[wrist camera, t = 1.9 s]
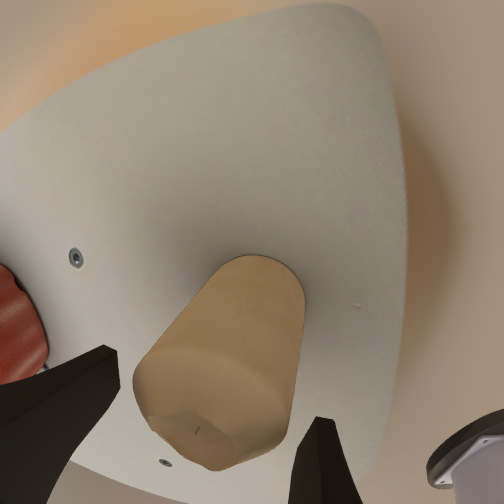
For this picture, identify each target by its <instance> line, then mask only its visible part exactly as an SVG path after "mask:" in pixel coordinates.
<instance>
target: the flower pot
mask: <svg viewBox="0 0 504 504" xmlns="http://www.w3.org/2000/svg"><path fill="white" fill-rule="evenodd" d="M47 356H48V347H47V342H46V338H45V334H44V331H43V328H42V325H41V322H40V320H39V318H38V315H37V313H36V311H35V309H34V307H33V305H32V303H31V301H30V299H29V297H28V296H27V294H26V293H25V292H23V291H21V290H20V289H19V288H18V287H17V286H16V284H15V278H14V276H13V275H12V274H11V273H10V272H9V271H8V270H7V269H6V268H5V267H4V266H2V265H0V385H2V384H6V383H10V382H14V381H18V380H21V379H25V378H28V377H31V376H33V375H35V374H36V373H37V372H38V371H39V370H40V369H41V368H42V367H43V365H44V362H45V360H46V358H47Z"/></svg>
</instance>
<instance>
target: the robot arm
mask: <svg viewBox="0 0 504 504" xmlns="http://www.w3.org/2000/svg"><path fill="white" fill-rule="evenodd" d="M120 388H121V387H120V378H119V368H118V357H117V351H116V350H114V349H112V348H110V347H108V346H106V345H101V346H99V347H97V348H95V349H93V350H91V351H89V352H86V353H84V354H82V355H80V356H78V357H76V358H74V359H72V360H70V361H67V362H65V363H63V364H61V365H58V366H56V367H54V368H51V369H49V370H46V371H44V372H41V373H39V374H36V375H33V376H31V377H28V378H25V379H21V380H18V381H14V382H10V383H6V384H2V385H0V504H46V503H47V501H48V498H49V496H50V494H51V492H52V490H53V488H54V486H55V484H56V482H57V480H58V478H59V476H60V474H61V473H62V471H63V469H64V467H65V466H66V464H67V462H68V461H69V459H70V457H71V456H72V454H73V452H74V451H75V450H76V448H77V447H78V446H79V444H80V443H81V442H82V441H83V439H84V438H85V437H86V436H87V434H88V433H89V432H90V431H91V430H92V428H93V427H94V426H95V425H96V423H97V422H98V421H99V420H100V418H101V417H102V416H103V415H104V413H105V412H106V411H107V410H108V408H109V407H110V405H111V403H112V402H113V400H114V399H115V397H116V395H117V393H118V392H119V390H120ZM434 483H435V484H451V483H453V488H454V493H455V499H456V504H504V434H503V435H483V436H480V437H479V438H478V439H477V440H476V441H475V442H474V443H473V444H472V445H471V446H470V447H469V448H468V449H467V450H466V451H465V452H464V453H463V454H462V455H461V456H460V457H459V458H458V459H457V460H456V461H455V462H454V463H453V464H452V465H451V466H450V467H449V468H448V469H447V470H446V471H444V472H443V473H442V474H441V475H440V476H439V477H438V478H437V479H435V481H434ZM288 504H363V503H362V501H361V498H360V496H359V494H358V491H357V489H356V487H355V484H354V481H353V479H352V476H351V473H350V471H349V468H348V465H347V462H346V459H345V456H344V453H343V450H342V446H341V443H340V440H339V436H338V432H337V429H336V425H335V422H334V420H332V419H327V418H322V417H317V416H316V417H315V419H314V421H313V422H312V424H311V426H310V428H309V429H308V431H307V433H306V434H305V436H304V438H303V439H302V441H301V443H300V444H299V446H298V448H297V452H296V456H295V460H294V465H293V469H292V475H291V483H290V491H289V500H288Z"/></svg>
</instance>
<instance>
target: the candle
mask: <svg viewBox="0 0 504 504" xmlns="http://www.w3.org/2000/svg"><path fill="white" fill-rule="evenodd" d="M304 318H305V296H304V293H303V289H302V287H301V284H300V282H299V281H298V279H297V278H296V276H295V275H294V274H293V273H292V272H291V271H290V270H289V269H288V268H287V267H286V266H284V265H283V264H281V263H279V262H278V261H276V260H273V259H271V258H267V257H264V256H257V255H249V256H242V257H238V258H235V259H233V260H231V261H229V262H227V263H225V264H224V265H223V266H221V267H220V268H219V269H218V270H217V271H216V272H215V273H214V274H213V275H212V277H211V278H210V279H209V280H208V281H207V282H206V283H205V285H204V286H203V287H202V288H201V289H200V291H199V292H198V293H197V294H196V295H195V297H194V298H193V299H192V300H191V301H190V302H189V304H188V305H187V306H186V307H185V308H184V310H183V311H182V312H181V313H180V314H179V316H178V317H177V318H176V319H175V320H174V322H173V323H172V324H171V325H170V326H169V328H168V329H167V330H166V331H165V332H164V333H163V335H162V336H161V337H160V338H159V340H158V341H157V342H156V343H155V344H154V346H153V347H152V348H151V349H150V350H149V352H148V353H147V354H146V355H145V356H144V358H143V359H142V360H141V361H140V363H139V364H138V365H137V367H136V369H135V371H134V374H133V382H132V383H133V391H134V395H135V398H136V401H137V404H138V406H139V409H140V411H141V413H142V415H143V417H144V418H145V420H146V421H147V423H148V424H149V426H150V428H151V429H152V431H154V432H156V433H157V434H158V435H159V436H160V437H161V438H162V439H164V440H165V441H166V442H167V443H168V444H169V445H171V446H172V447H173V448H174V449H175V450H176V451H177V452H178V453H179V454H180V455H182V456H183V457H184V458H186V459H188V460H190V461H192V462H195V463H197V464H200V465H202V466H203V467H205V468H206V469H208V470H210V471H222V470H225V469H227V468H230V467H232V466H234V465H237V464H240V463H242V462H245V461H248V460H250V459H253V458H255V457H258V456H260V455H263V454H265V453H267V452H269V451H271V450H273V449H274V448H276V447H277V446H278V445H279V444H280V443H281V442H282V440H283V439H284V437H285V435H286V433H287V429H288V425H289V419H290V414H291V408H292V402H293V396H294V389H295V383H296V377H297V370H298V363H299V356H300V349H301V342H302V334H303V326H304Z"/></svg>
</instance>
